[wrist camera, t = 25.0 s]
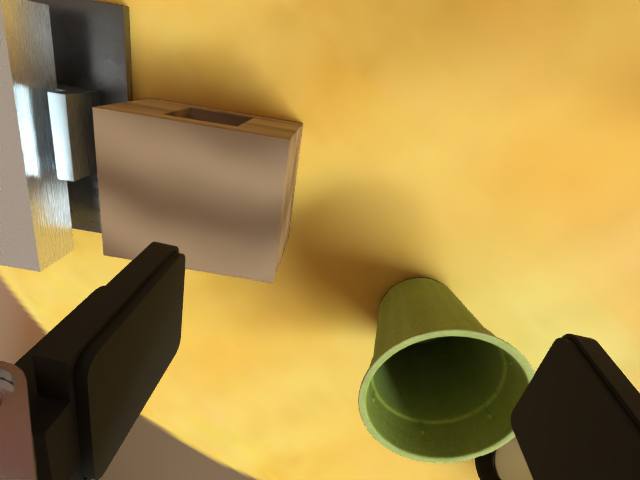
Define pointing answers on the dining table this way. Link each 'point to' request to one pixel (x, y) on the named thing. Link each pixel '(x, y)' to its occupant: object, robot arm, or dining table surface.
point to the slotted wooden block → (196, 184)
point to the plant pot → (439, 378)
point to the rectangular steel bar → (29, 143)
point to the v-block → (85, 92)
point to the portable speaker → (503, 464)
